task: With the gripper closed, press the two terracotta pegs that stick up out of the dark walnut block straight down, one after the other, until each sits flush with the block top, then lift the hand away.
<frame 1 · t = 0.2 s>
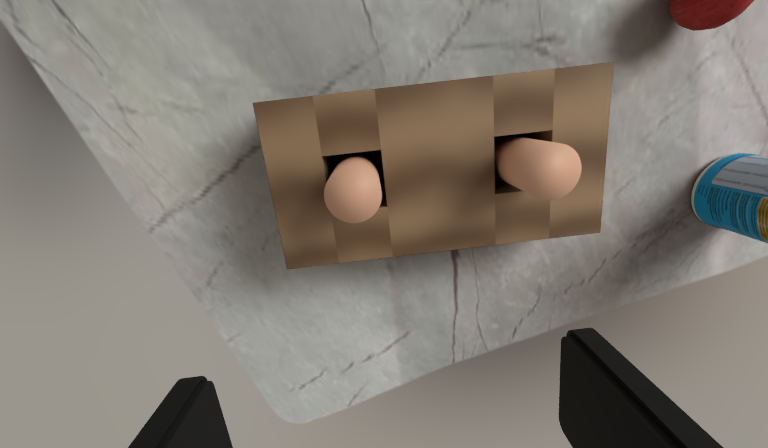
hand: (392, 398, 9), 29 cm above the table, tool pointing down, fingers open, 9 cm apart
beverage bottle: (722, 189, 40), on the table
onion: (675, 4, 34), on the table
peg block: (424, 160, 37), on the table
peg 2: (529, 165, 28), point 9 cm above the table, slide at 0.0 cm
peg 1: (354, 185, 28), point 9 cm above the table, slide at 0.0 cm
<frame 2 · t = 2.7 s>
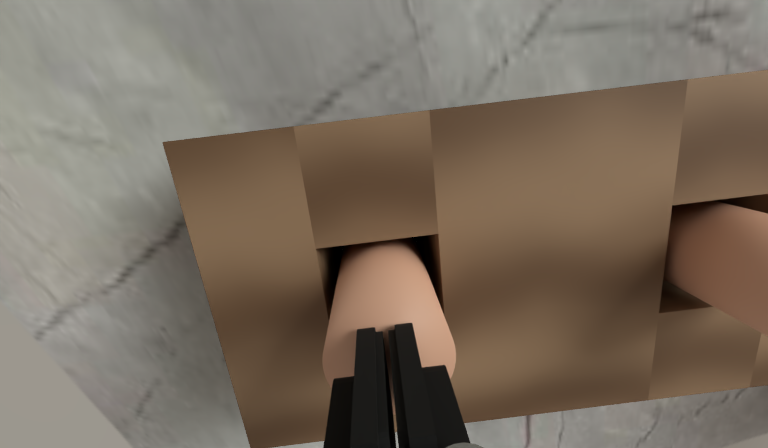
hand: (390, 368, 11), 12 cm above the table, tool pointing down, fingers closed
peg block: (490, 221, 22), on the table
peg 2: (754, 267, 13), point 9 cm above the table, slide at 0.0 cm
peg 1: (384, 299, 14), point 8 cm above the table, slide at 1.0 cm, touching gripper
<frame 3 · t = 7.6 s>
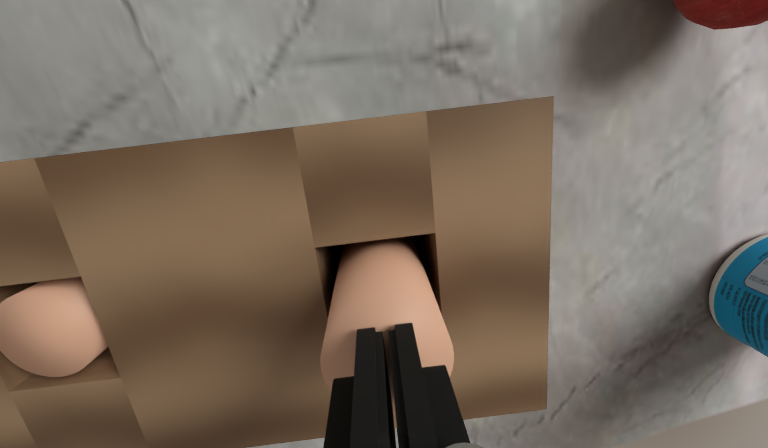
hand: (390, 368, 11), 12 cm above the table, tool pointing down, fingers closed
beverage bottle: (758, 282, 25), on the table
peg block: (266, 248, 22), on the table
peg 2: (382, 300, 14), point 8 cm above the table, slide at 0.8 cm, touching gripper
peg 1: (108, 293, 18), point 4 cm above the table, slide at 5.0 cm
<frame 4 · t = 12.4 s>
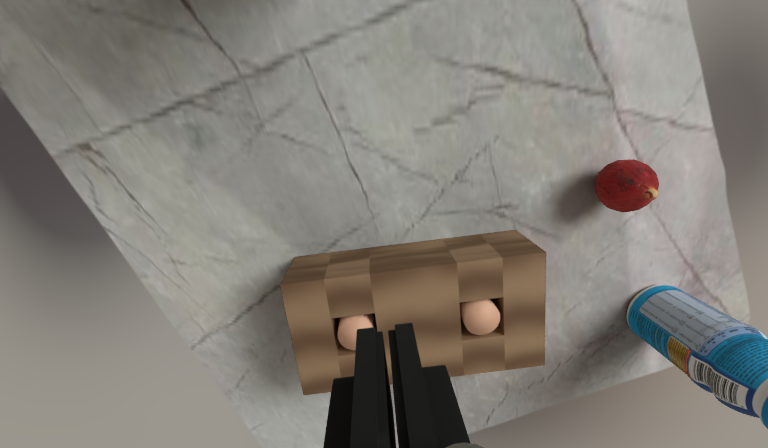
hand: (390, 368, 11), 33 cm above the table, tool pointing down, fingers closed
beverage bottle: (652, 308, 49), on the table
onion: (603, 180, 44), on the table
peg block: (410, 293, 47), on the table
peg 2: (472, 302, 43), point 4 cm above the table, slide at 5.0 cm
peg 1: (356, 316, 42), point 4 cm above the table, slide at 5.0 cm
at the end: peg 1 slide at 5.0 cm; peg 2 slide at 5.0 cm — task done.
